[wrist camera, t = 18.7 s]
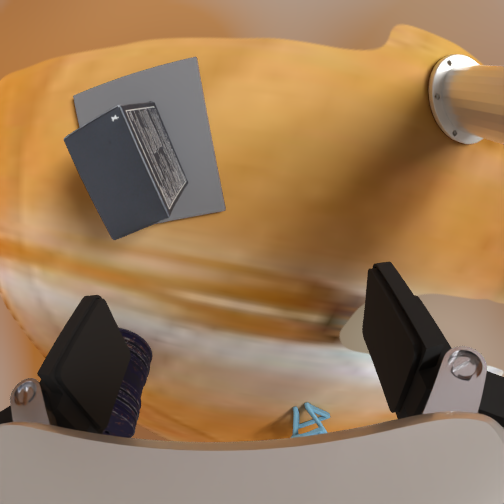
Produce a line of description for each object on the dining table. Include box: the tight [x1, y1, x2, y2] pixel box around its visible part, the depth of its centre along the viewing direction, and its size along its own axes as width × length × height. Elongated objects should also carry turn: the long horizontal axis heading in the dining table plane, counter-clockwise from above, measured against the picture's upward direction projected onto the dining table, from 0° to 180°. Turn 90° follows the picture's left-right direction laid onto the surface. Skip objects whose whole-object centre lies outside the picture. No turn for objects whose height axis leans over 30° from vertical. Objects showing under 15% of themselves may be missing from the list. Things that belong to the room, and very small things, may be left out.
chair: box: [291, 403, 330, 438], centre depth 52 cm, size 8×8×12 cm
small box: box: [64, 101, 188, 240], centre depth 27 cm, size 11×6×10 cm, turn 19°
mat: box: [73, 57, 226, 224], centre depth 32 cm, size 15×18×1 cm
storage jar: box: [103, 328, 152, 438], centre depth 40 cm, size 10×10×15 cm
